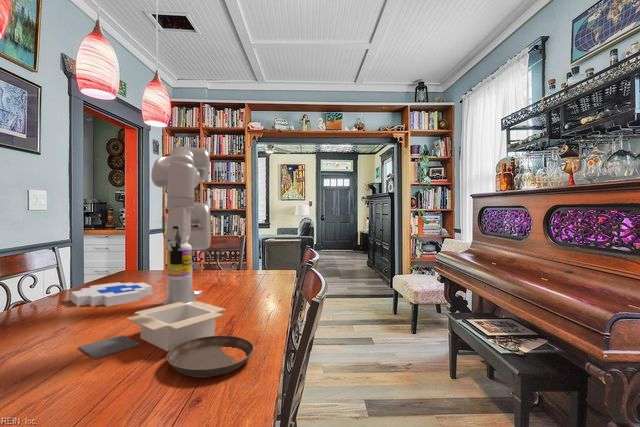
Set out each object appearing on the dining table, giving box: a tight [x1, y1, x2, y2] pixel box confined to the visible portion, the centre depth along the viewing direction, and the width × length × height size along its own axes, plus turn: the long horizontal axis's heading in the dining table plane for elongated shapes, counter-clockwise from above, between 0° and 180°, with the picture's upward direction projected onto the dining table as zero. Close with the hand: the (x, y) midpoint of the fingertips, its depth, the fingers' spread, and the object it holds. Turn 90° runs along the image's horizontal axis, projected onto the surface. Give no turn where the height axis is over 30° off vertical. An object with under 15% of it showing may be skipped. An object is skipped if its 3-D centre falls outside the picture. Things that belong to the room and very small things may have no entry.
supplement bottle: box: [166, 236, 193, 280], centre depth 97 cm, size 7×7×13 cm
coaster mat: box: [78, 334, 141, 360], centre depth 88 cm, size 11×11×1 cm
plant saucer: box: [166, 335, 255, 378], centre depth 80 cm, size 21×21×3 cm
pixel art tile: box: [70, 281, 153, 307], centre depth 141 cm, size 28×4×28 cm
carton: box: [126, 300, 227, 352], centre depth 96 cm, size 23×23×7 cm
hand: (179, 261), depth 97 cm, fingers closed on supplement bottle, 6 cm apart
